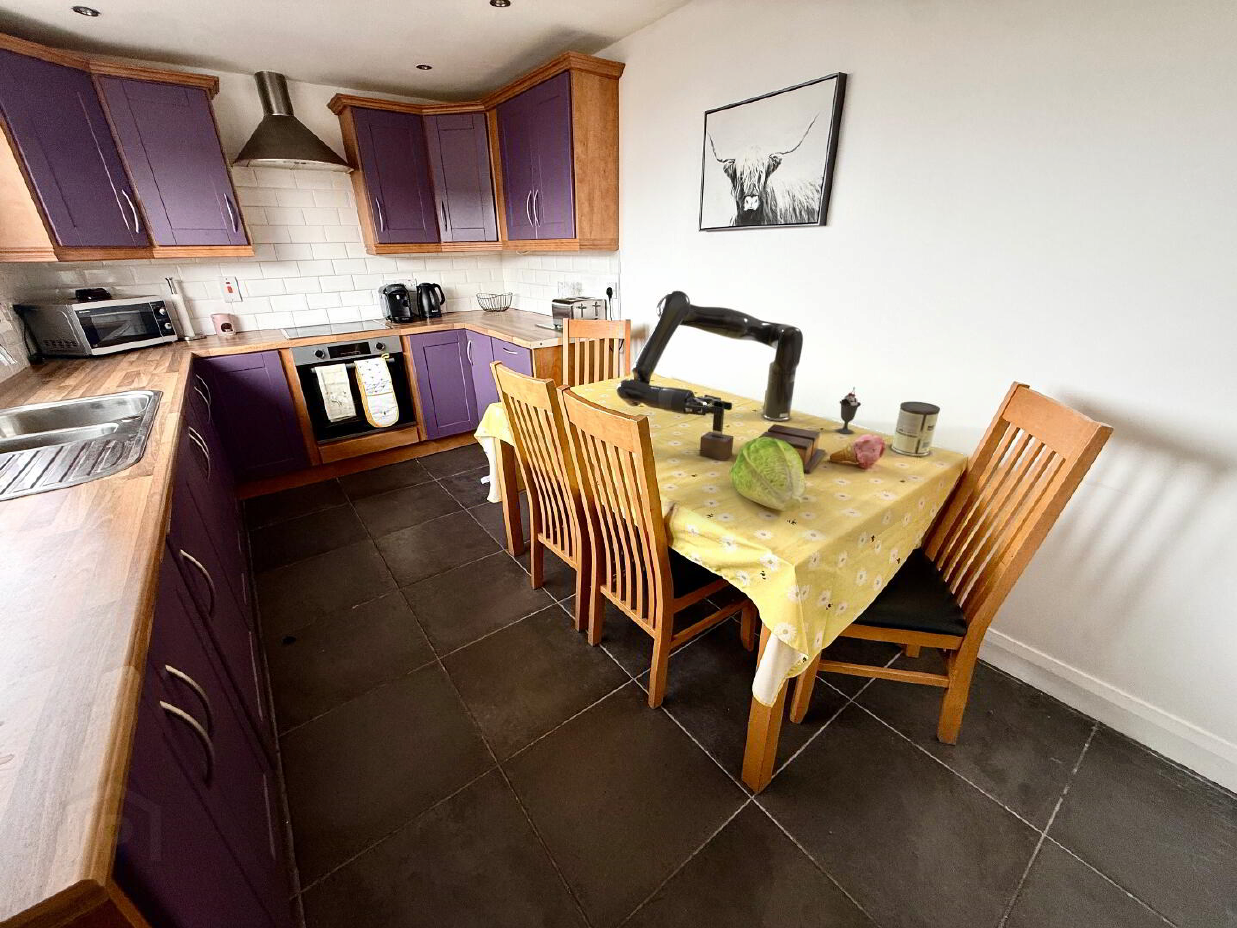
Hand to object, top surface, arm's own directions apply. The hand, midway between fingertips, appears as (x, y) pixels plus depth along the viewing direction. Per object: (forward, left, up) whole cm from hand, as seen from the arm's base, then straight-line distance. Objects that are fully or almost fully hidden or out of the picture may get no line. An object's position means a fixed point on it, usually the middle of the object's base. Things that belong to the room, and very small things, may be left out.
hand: (727, 409), depth 145 cm
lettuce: (+29, -2, -15) cm, 33 cm away
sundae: (-9, +49, -15) cm, 52 cm away
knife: (-2, -2, -15) cm, 15 cm away
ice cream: (+17, +33, -15) cm, 40 cm away
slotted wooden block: (+5, +18, -15) cm, 24 cm away
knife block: (-2, -2, -15) cm, 15 cm away
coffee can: (+11, +57, -15) cm, 60 cm away
